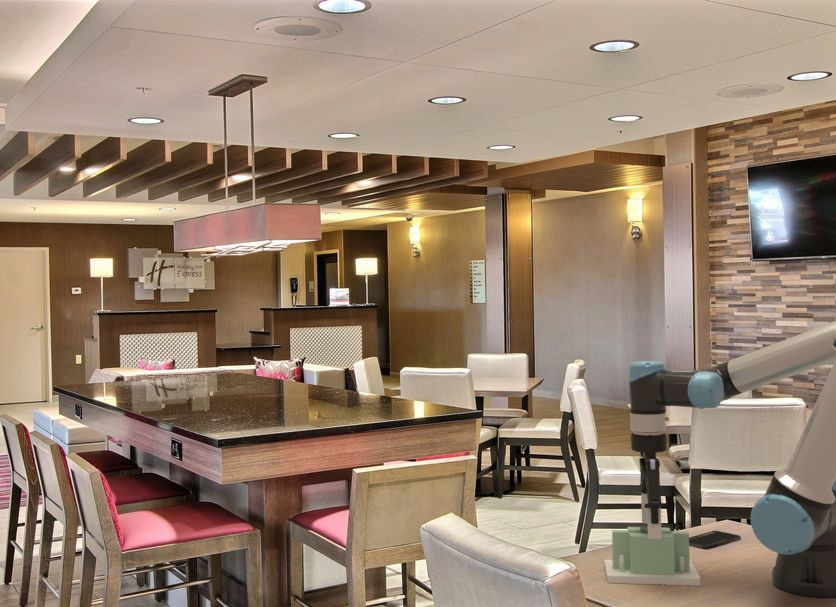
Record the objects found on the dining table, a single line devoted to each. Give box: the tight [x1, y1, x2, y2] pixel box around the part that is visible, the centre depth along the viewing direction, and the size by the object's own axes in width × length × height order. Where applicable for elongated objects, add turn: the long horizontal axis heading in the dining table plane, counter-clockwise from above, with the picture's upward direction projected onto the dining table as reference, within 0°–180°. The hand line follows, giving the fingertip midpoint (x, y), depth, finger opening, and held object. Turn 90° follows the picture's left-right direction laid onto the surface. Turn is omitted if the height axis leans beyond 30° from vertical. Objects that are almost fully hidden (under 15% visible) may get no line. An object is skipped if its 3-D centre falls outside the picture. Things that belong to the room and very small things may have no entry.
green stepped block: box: [611, 525, 690, 575], centre depth 192 cm, size 16×8×9 cm, turn 81°
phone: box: [689, 530, 742, 550], centre depth 218 cm, size 8×1×15 cm
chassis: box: [604, 555, 702, 587], centre depth 192 cm, size 19×12×5 cm, turn 81°
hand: (651, 530), depth 192 cm, fingers open, 13 cm apart
